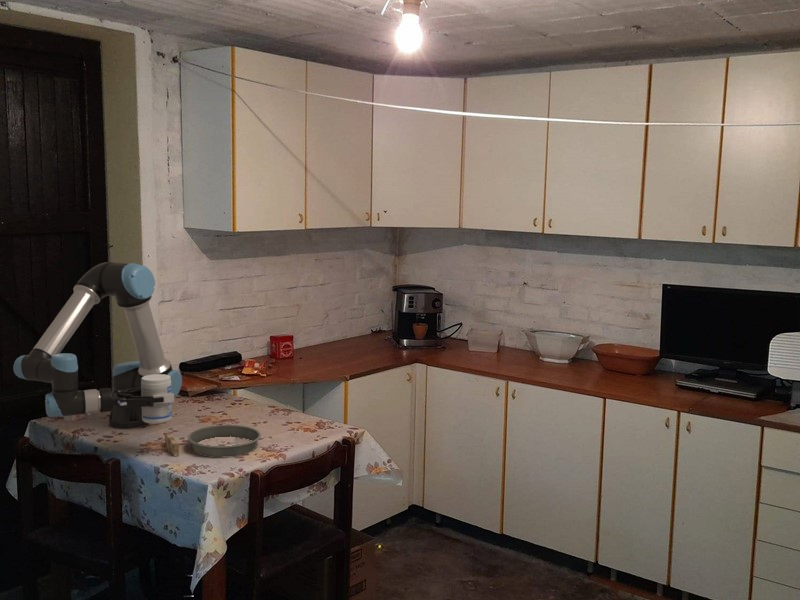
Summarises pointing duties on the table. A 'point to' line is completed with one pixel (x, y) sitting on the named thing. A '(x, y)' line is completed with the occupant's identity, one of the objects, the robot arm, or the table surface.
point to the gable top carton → (74, 417)
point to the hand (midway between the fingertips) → (170, 393)
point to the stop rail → (172, 444)
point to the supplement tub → (156, 386)
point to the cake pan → (224, 432)
